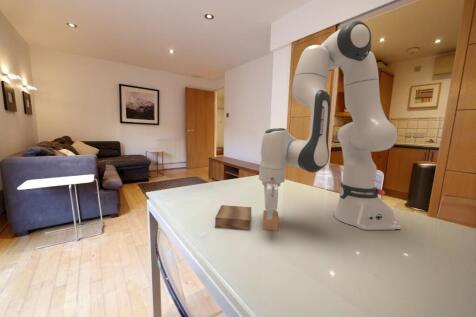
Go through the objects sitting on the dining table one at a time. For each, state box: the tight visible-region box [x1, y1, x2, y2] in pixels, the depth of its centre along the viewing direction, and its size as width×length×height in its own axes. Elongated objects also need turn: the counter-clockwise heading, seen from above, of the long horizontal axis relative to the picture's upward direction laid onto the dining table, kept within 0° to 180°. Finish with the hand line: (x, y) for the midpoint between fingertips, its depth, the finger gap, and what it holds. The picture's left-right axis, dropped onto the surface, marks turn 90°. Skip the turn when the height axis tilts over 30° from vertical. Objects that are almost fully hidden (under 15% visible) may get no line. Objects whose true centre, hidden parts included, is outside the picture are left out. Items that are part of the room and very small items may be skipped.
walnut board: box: [214, 204, 252, 231], centre depth 76 cm, size 12×12×4 cm
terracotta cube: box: [262, 209, 280, 232], centre depth 73 cm, size 5×5×5 cm
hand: (268, 213), depth 73 cm, fingers open, 8 cm apart
